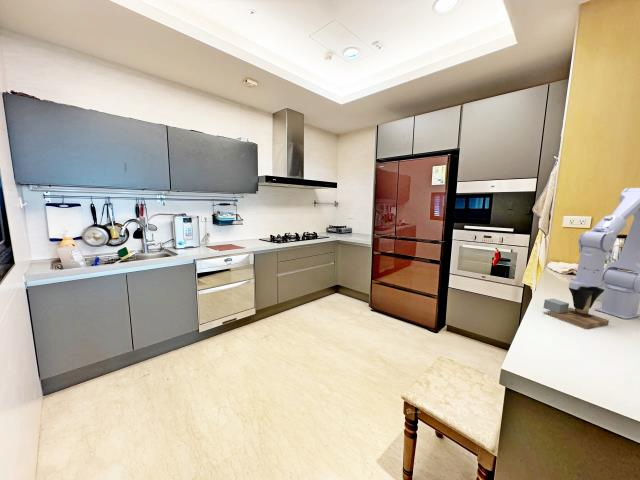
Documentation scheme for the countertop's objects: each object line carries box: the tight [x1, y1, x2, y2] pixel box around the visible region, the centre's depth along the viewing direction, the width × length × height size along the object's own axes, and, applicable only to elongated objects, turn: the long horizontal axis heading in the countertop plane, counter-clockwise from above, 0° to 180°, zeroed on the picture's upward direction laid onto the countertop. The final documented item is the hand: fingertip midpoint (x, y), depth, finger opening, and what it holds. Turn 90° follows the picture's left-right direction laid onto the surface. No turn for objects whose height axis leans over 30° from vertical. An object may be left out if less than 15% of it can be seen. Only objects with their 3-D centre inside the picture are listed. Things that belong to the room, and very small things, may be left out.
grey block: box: [543, 298, 570, 313], centre depth 87 cm, size 4×4×3 cm
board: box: [548, 307, 610, 330], centre depth 84 cm, size 11×10×2 cm
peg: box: [574, 295, 592, 314], centre depth 85 cm, size 3×3×6 cm
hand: (582, 308), depth 85 cm, fingers closed on peg, 3 cm apart
